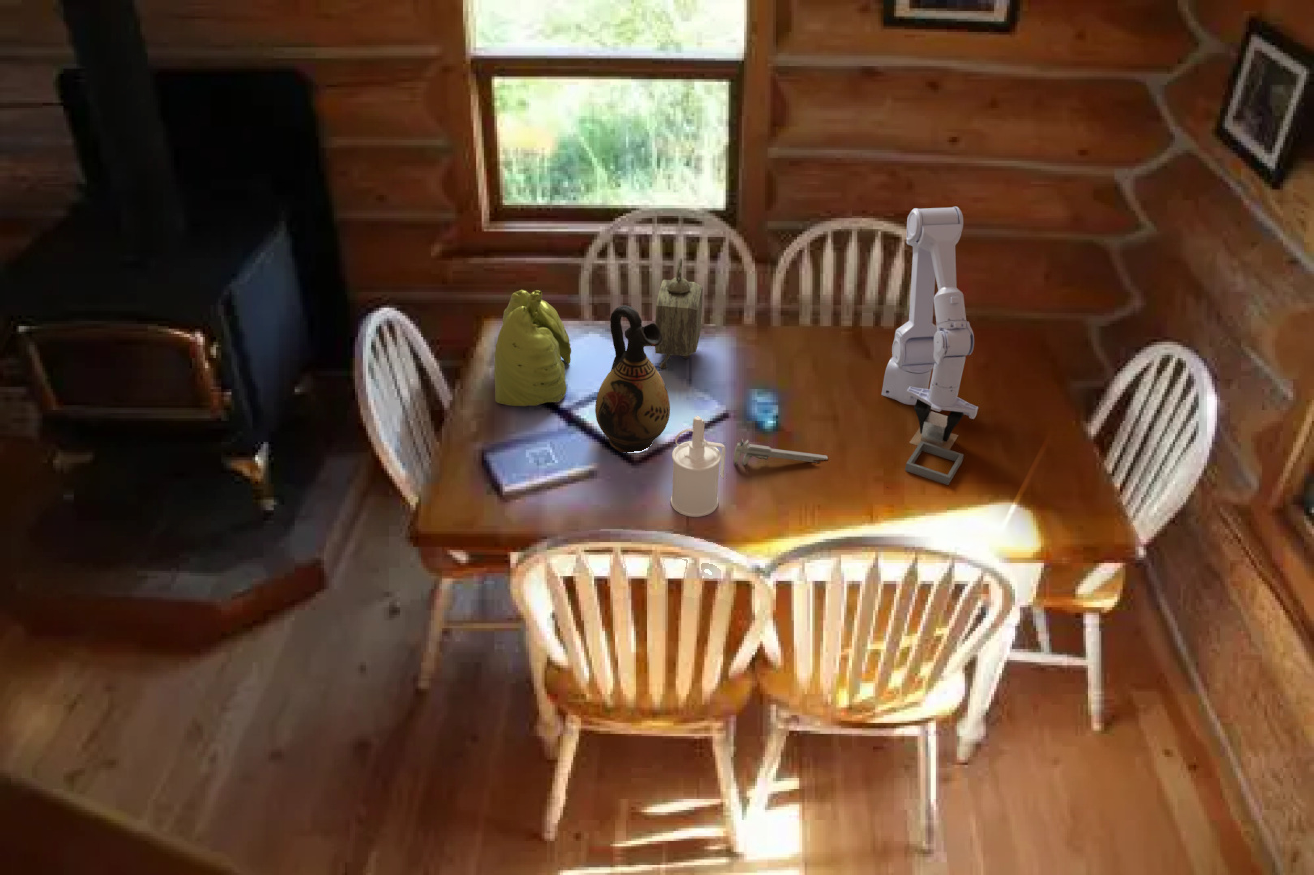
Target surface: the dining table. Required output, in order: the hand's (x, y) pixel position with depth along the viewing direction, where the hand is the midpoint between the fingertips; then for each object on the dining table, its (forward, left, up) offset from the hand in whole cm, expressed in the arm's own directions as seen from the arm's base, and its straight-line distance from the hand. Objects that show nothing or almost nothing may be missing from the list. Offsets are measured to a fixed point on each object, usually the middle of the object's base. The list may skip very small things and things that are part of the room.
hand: (934, 435), depth 231 cm
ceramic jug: (-55, -32, -2) cm, 64 cm away
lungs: (-84, -25, -2) cm, 88 cm away
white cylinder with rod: (-33, -43, -2) cm, 54 cm away
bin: (+3, -9, -2) cm, 10 cm away
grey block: (0, 0, -1) cm, 1 cm away
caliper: (-24, -23, -2) cm, 33 cm away
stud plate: (0, 0, -2) cm, 2 cm away
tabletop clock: (-62, +1, -2) cm, 62 cm away
